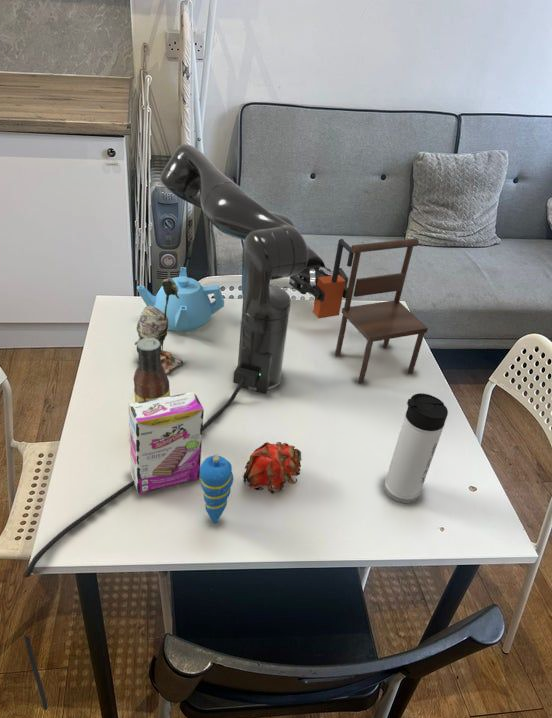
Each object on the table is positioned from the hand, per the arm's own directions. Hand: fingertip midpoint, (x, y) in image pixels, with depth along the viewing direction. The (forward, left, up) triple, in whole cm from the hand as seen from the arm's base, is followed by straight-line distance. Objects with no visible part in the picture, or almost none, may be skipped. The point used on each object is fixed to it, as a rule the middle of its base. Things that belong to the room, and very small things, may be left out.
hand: (334, 296), depth 143 cm
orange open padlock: (0, 0, -6) cm, 6 cm away
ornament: (-63, +5, -11) cm, 64 cm away
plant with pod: (-26, +32, -11) cm, 42 cm away
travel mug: (-44, -23, -11) cm, 51 cm away
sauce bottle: (-47, +23, -11) cm, 53 cm away
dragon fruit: (-51, -1, -11) cm, 52 cm away
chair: (-7, -12, -11) cm, 17 cm away
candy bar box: (-57, +16, -11) cm, 60 cm away
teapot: (-8, +34, -11) cm, 36 cm away
